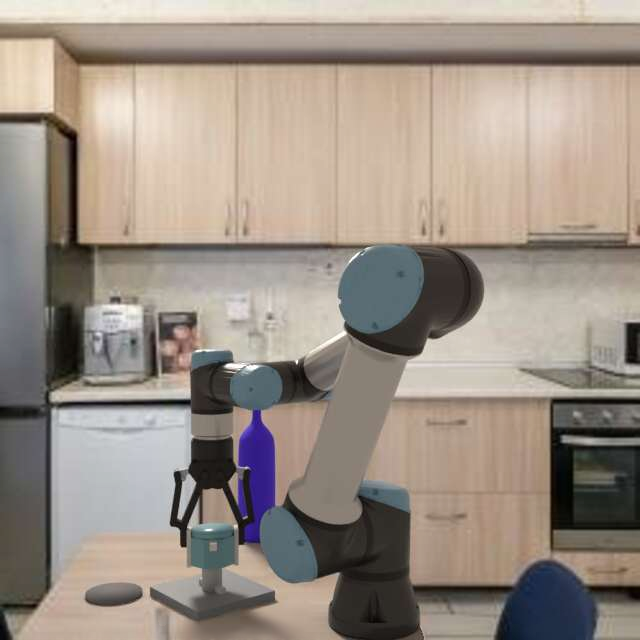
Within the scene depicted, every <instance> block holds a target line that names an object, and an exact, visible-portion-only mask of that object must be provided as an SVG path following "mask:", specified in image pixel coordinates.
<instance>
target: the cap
mask: <svg viewBox="0 0 640 640" xmlns="http://www.w3.org/2000/svg"><path fill="white" fill-rule="evenodd" d="M234 564H235V536H234V525H231V524H230V523H229V524H228V523H223V522H207V523H206V522H205V523H200V524H197V525H194V526H191V567H194V568H197V569H201V570H202V569H218V568H222V569H224V568H226V567H230V566H233V565H234Z"/></svg>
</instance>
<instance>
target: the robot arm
mask: <svg viewBox="0 0 640 640" xmlns="http://www.w3.org/2000/svg"><path fill="white" fill-rule="evenodd" d="M484 297H485V282H484V279H483V275H482V272H481V271H480V268H479V267H478V266H477V264H476V263H475V262H474V261H473V260H472V259H471V258H470V257H469V256H468V255H467V254H464V253H463V252H461V251H459V250H457V249H453V248H450V247H431V246H415V245H404V244H403V243H402V244H401V243H386V244H383V245H382V244H379V245H378V244H377V245H372V246H369V247H366V248H365V249H363V250H360V251H359V252H358V253H356V254H355V255H354V256H353V257H352V258H351V259H350V260H349V262H348V263H347V264H346V265H345V267H344V269H343V271H342V273H341V276H340V279H339V283H338V287H337V298H338V299H339V301H340V303H339V304H338V309H339V311H340V314H341V316H342V318H343V320H344V322H343V330H344V331H342V332H341V333H339V334H337V335H336V336H334V337H332V338H330V339H329V340H327V341H326V342H324V343H323V344H320V345H319V346H318V347H316V348H314V349H313V350H311V351H310V352H308V353H307V354H305V355H303V356H301V357H300V358H298V359H294V360H281V361H265V362H251V363H249V362H248V363H247V362H246V363H245V362H244V363H243V362H235V359H234V354H233V352H232V351H231V350H230V349H225V348H206V349H204V348H202V349H196V350H194V351H193V352H192V353H191V357H190V370H189V380H190V381H189V382H190V384H189V385H190V391H189V392H190V434H191V436H193V437H191V439H190V463H189V465H188V467H185V468H175V469H174V470H173V479H174V492H173V498H172V504H171V512H170V518H169V525H170V527H172V528H177V529H178V530H179V546H180V548H183V549H184V548H186V568H192V566H191V528H192V526H188V525H189V523H190V521H191V518H192V516H193V514H194V512H195V509H196V506H197V504H198V501H199V499H200V496H201V494H202V492H203V491H204V490H205V491H208V490H211V489H214V490H222V491H223V493H224V496H225V498H226V500H227V503H228V505H229V507H230V510H231V512H232V515H233V517H234V519H235V522H236V524H233V527H234V536H235V564H233V565H234V566H239V565H240V564H239V559H240V558H239V552H240V551H239V547H240V546H245V542H246V541H245V527H246V526H247V525H249V524H253V523H254V522H255V517H254V510H253V504H252V498H251V491H250V485H249V480H250V475H251V470H250V468H249V467H248V466H246V467H239V466H238V465H236V463H235V460H234V438H233V437H232V436H231V435H233V434H234V408H240V409H244V410H245V409H246V410H247V411H253V410H261V411H267V410H269V409H271V408H272V407H274V406H279V405H280V406H282V405H288V404H289V405H290V404H300V403H301V404H302V403H317V402H319V401H322V400H324V401H325V400H328V399H329V400H328V403H327V406H326V408H325V412H324V415H323V418H322V421H321V424H320V426H319V430H318V432H317V435H316V438H315V441H314V444H313V446H312V450H311V452H310V456H309V458H308V461H307V465H306V466H305V470H304V474H303V475H302V476H299V477H296V478H295V479H294V480H292V481H291V483H290V484H289V486H288V488H287V493H286V495H285V498H284V501H283V504H281V505H275V507H272V508H271V509H269V510H267V511H266V512H265V514H264V515H263V517H262V520H261V523H260V541H261V542H260V545H261V548H262V552H263V556H264V558H265V560H266V563H267V564H268V566H269V568H270V569H271V570H272V571H273V573H274V574H275V575H276V576H277V577H278V578H279V579H281V580H282V581H284V582H286V583H288V584H294V585H295V584H301V583H306V582H308V583H311V582H314V581H316V580H318V579H322V578H324V577H328V576H331V575H335V574H338V576H337V580H336V583H335V587H334V590H333V591H334V592H333V596H332V600H331V601H330V603H329V605H328V610H327V613H328V614H327V615H328V617H327V621H328V625H329V626H330V628H332V629H333V630H334V631H335V632H337V633H339V634H342V635H345V636H348V637H351V638H356V639H362V640H392V639H398V638H402V637H405V636H409V635H411V634H413V633H415V632H416V631H417V630H418V629H419V627H420V626H421V611H420V610H421V608H420V605H419V603H417V598H416V593H415V590H414V587H413V584H412V579H411V577H410V576H411V574H410V573H411V572H410V570H411V568H410V567H411V566H410V565H411V517H412V510H411V504H410V503H411V501H410V494H409V492H408V490H407V489H406V488H405V487H403V486H401V485H398V484H394V483H390V482H384V481H379V480H368V479H365V476H366V473H367V471H368V469H369V466H370V463H371V460H372V457H373V455H374V452H375V450H376V446H377V444H378V441H379V438H380V436H381V433H382V430H383V428H384V425H385V422H386V419H387V417H388V414H389V412H390V410H391V406H392V403H393V401H394V398H395V395H396V392H397V390H398V386H400V385H399V384H400V382H401V379H402V377H403V374H404V371H405V368H406V365H407V363H408V362H409V360H413V359H415V358H417V357H420V356H421V355H422V354H423V352H424V348H425V346H426V343H427V341H428V340H432V341H433V340H434V341H435V340H440V338H442V337H444V336H446V335H448V334H450V333H452V332H454V331H456V330H457V329H459V328H460V329H461V328H462V327H464V326H465V325H467V324H468V323H470V322H471V321H472V320H473V319H474V317H475V316H477V313H478V312H479V310H480V308H481V307H482V304H483V302H484ZM235 473H237V478H238V477H239V479H241V480H242V486H243V492H244V499H245V505H246V511H247V516H245V517H243V516H242V514H241V512H240V509H239V507H238V501H237V500H236V497H235V496H234V493H233V491H232V488H231V486H230V484H229V481H230V480H231V479H232V477H233V476H234V475H235ZM188 475H189V476H190V477H191V478H192V479H193V481H194V482H195V485H194V488H193V491H192V492H191V493H192V494H191V496H190V498H189V501H188V503H187V505H186V507H185V510H184V513H183V515H182V518H181V519H180V518H178V516H179V511H180V502H181V495H182V491H183V482H185V481H186V479H187V476H188Z"/></svg>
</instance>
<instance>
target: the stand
mask: <svg viewBox="0 0 640 640" xmlns="http://www.w3.org/2000/svg"><path fill="white" fill-rule="evenodd" d="M149 596H151V597H153V598H155V599H157V600H158V601H160V602H162V603H164V604H166V605H168V606H169V607H172V608H173V609H175V610H176V611H179V612H180V613H182V614H184V615H186V616H187V617H190V618H191V619H193V620H194V621H197V622H199V621H203V620H206V619H210V618H213V617H218V616H220V615H224V614H227V613H231V612H234V611H237V610H241V609H246V608H248V607H251V606H256V605H259V604H262V603H265V602H269V601H273V600H276V590H275V589H272V588H270V587H268V586H266V585H263V584H261V583H259V582H256V581H255V580H252V579H249V578H247V577H245V576H243V575H241V574H239V573H237V572H234V571H231V570H230V569H227V568H226V567H224V568H218V569H201V574H200V573H199V574H195V575H191V576H187V577H183V578H179V579H174V580H172V581H167V582H163V583H160V584H154V585H151V586H149Z"/></svg>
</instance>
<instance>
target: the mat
mask: <svg viewBox="0 0 640 640" xmlns="http://www.w3.org/2000/svg"><path fill="white" fill-rule="evenodd" d="M142 596H143V587H142V586H141V585H138V584H136V583H132V582H120V581H119V582H117V581H116V582H109V583H102V584H99V585H95V586H92V587H91V588H89V589H87V590H86V591H85V593H84V599H85V600H86V602H88V603H90V604H92V605H98V606H116V605H117V606H118V604H119V605H124V604H127V603H128V602H129V603H131V602H130V601H132V602H134V601H136V599H137V600H138V599H139V598H140V599H141V597H142ZM123 603H124V604H123ZM129 603H128V604H129Z"/></svg>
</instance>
